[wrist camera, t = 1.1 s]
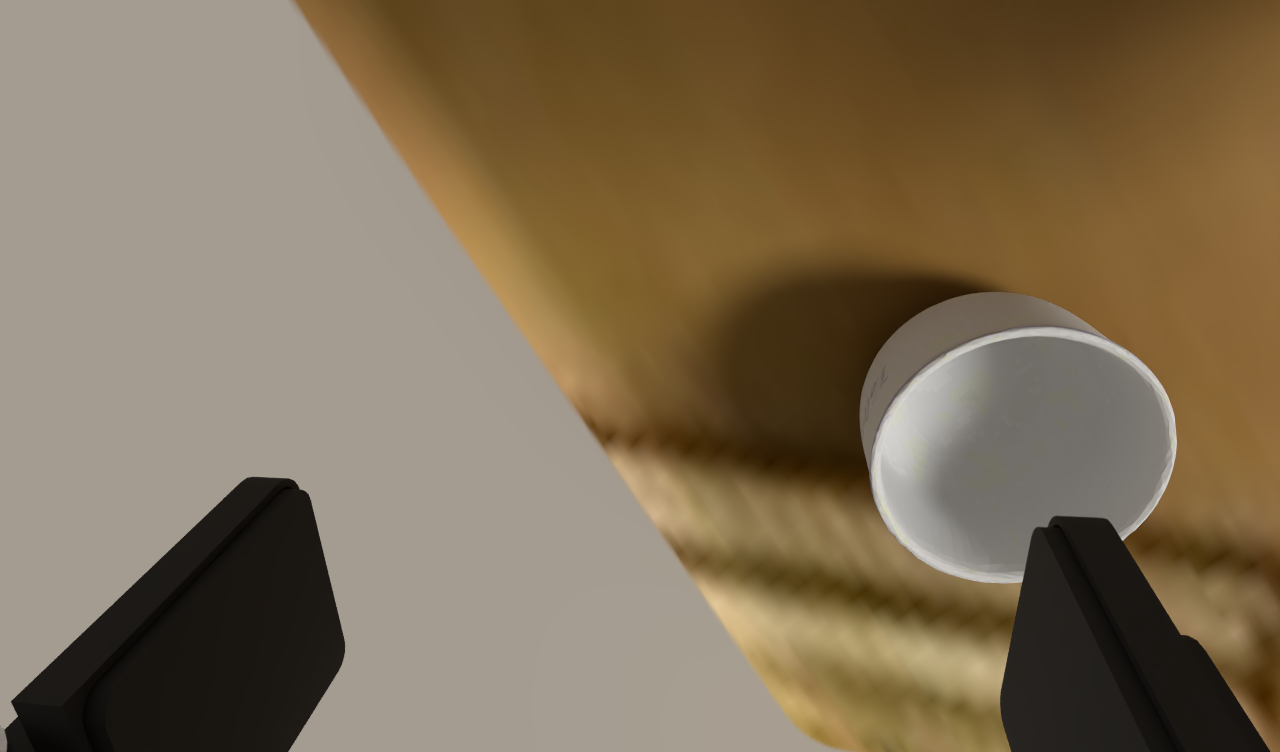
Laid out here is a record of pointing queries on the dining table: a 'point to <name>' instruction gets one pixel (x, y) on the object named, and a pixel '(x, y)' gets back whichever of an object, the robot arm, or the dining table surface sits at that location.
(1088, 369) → the teacup
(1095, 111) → the dining table surface
